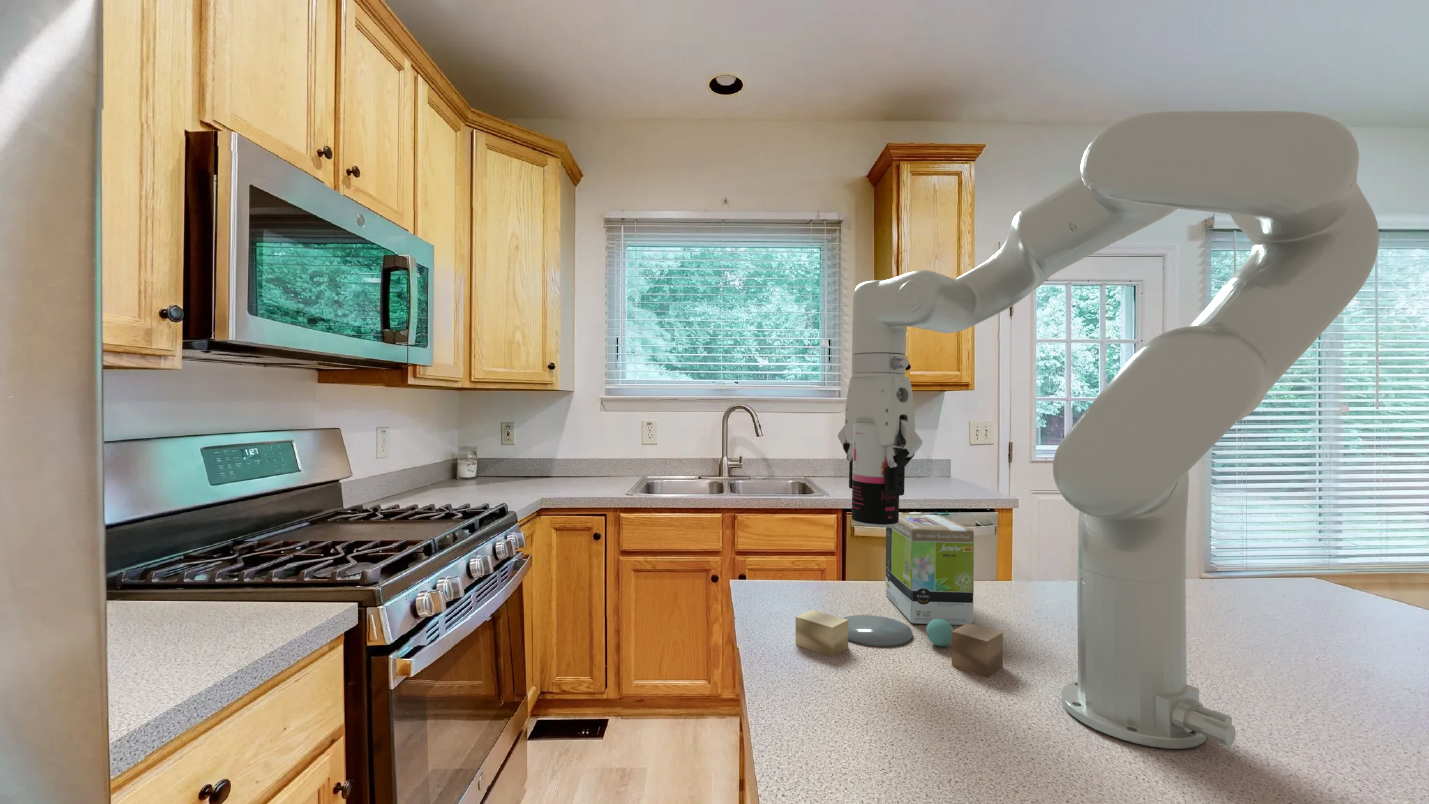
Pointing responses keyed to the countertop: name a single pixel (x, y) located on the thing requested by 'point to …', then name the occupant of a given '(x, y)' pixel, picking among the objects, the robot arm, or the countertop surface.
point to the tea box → (930, 569)
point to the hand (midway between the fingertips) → (875, 490)
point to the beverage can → (871, 479)
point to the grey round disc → (877, 631)
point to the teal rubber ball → (939, 632)
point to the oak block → (822, 632)
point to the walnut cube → (977, 649)
